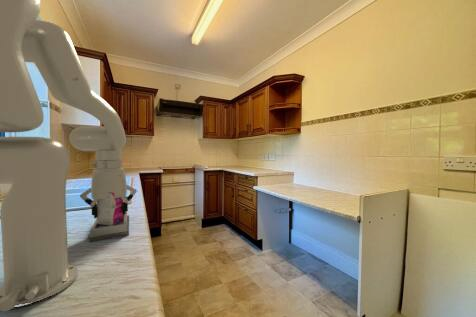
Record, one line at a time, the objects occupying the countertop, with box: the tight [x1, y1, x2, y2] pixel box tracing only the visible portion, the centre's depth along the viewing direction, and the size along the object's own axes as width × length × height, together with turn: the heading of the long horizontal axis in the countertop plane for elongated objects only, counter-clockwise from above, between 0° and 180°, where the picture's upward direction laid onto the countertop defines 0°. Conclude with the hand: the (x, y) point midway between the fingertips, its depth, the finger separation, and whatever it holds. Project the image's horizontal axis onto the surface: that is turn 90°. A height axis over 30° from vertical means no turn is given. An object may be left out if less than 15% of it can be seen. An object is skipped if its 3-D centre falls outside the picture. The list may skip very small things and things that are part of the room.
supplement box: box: [97, 193, 124, 226], centre depth 70 cm, size 6×6×12 cm
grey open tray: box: [88, 211, 130, 243], centre depth 73 cm, size 18×11×8 cm, turn 28°
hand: (110, 214), depth 70 cm, fingers closed on supplement box, 8 cm apart
